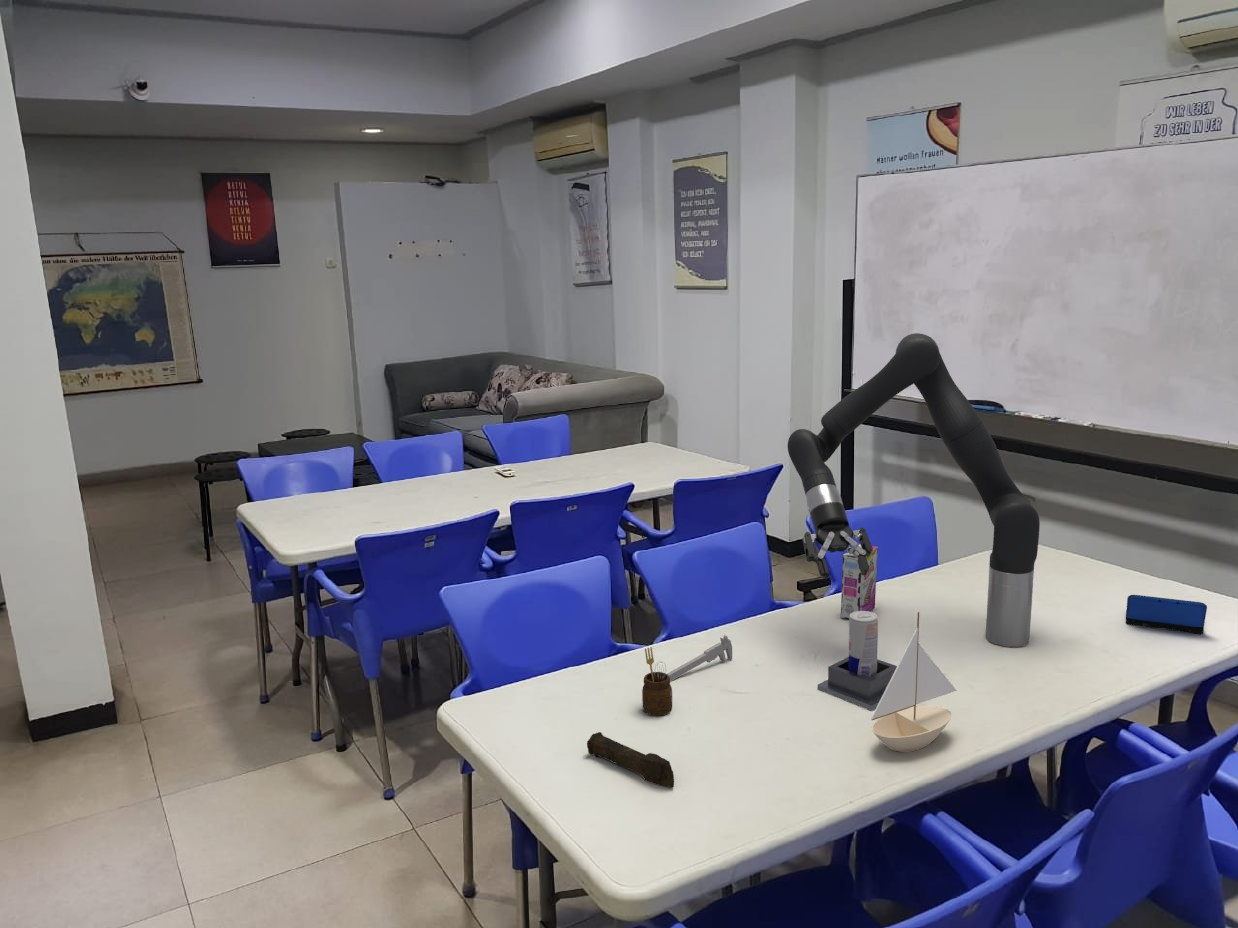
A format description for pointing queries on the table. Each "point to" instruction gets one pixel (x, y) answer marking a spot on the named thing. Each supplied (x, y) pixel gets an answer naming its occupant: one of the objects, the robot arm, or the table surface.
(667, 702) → the utensil holder
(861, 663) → the beverage can
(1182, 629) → the handheld game console
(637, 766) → the hand tool
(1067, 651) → the table surface
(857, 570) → the candy bar box
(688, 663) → the caliper
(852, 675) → the dark grey square holder
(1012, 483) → the robot arm
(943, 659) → the table surface
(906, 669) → the toy sailboat
